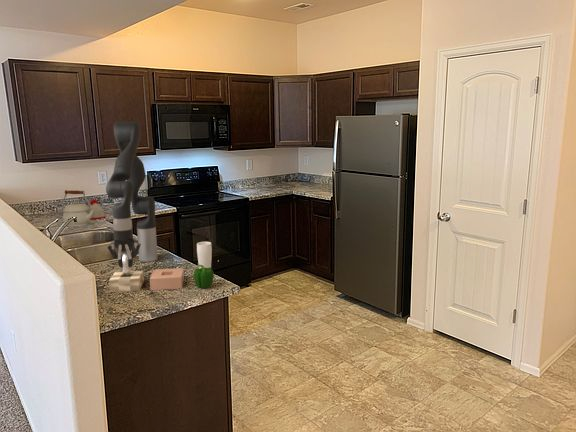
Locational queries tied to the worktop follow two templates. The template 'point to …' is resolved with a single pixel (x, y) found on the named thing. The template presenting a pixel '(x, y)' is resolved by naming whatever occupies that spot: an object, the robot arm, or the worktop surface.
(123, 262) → the lock pin
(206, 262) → the drinking glass
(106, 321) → the worktop surface
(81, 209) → the kettle
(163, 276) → the dock block
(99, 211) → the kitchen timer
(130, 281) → the mount block
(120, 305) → the worktop surface
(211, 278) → the bell pepper
